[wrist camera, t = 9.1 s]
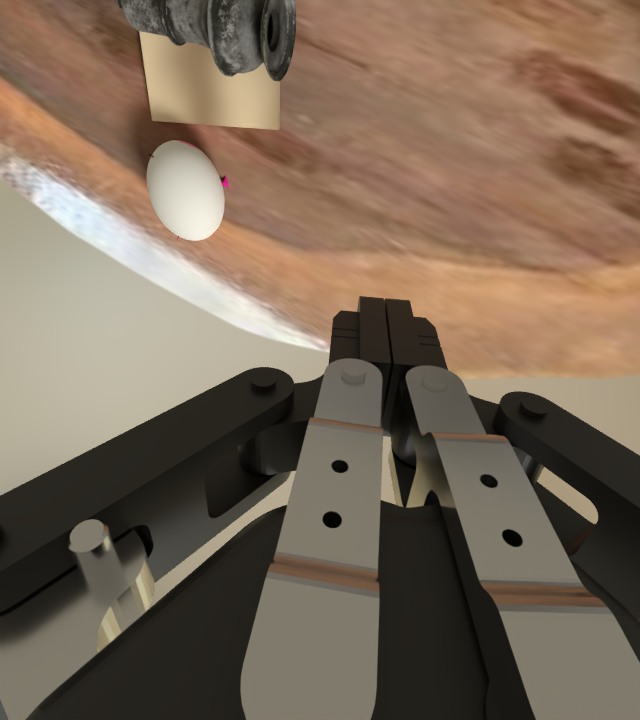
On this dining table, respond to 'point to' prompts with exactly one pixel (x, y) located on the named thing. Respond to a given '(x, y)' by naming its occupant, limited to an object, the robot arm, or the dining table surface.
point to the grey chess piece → (224, 29)
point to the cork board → (205, 88)
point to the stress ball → (185, 190)
